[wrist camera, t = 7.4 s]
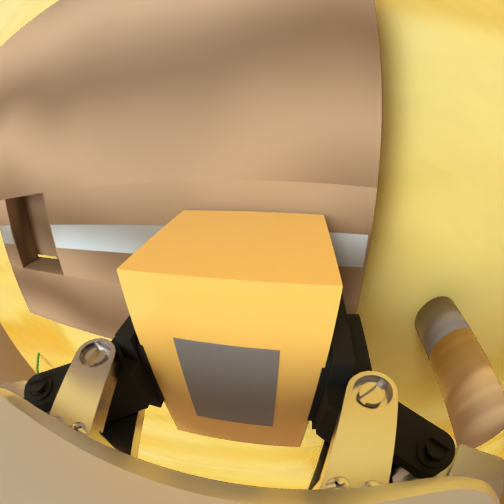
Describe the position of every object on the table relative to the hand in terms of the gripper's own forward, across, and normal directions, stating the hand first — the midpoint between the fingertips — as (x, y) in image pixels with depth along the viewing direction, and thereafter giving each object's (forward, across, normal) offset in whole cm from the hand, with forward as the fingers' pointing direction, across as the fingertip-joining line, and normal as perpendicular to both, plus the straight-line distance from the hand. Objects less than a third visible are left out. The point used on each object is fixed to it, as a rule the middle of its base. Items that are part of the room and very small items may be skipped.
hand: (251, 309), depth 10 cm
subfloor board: (+5, +6, -5) cm, 9 cm away
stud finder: (0, 0, 0) cm, 0 cm away
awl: (+5, -11, +4) cm, 12 cm away
